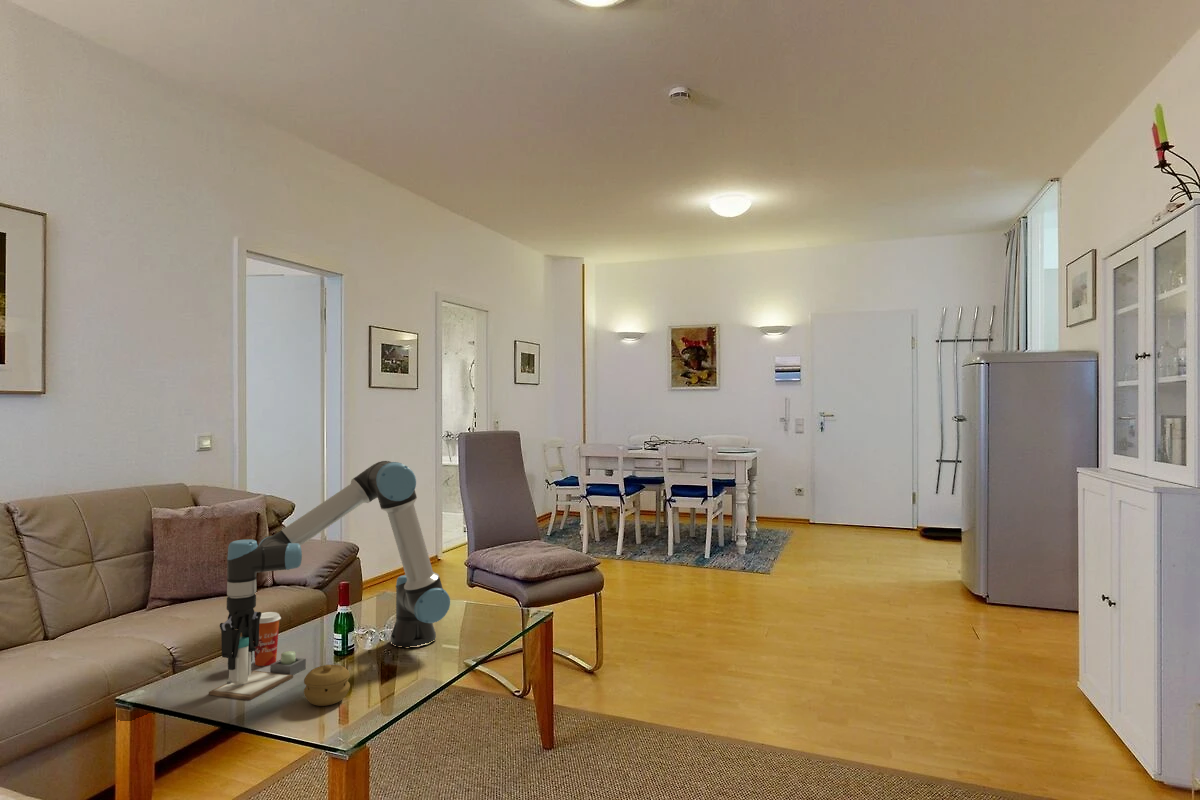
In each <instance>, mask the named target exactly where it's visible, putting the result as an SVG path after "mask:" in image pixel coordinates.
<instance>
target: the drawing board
mask: <svg viewBox="0 0 1200 800" xmlns="http://www.w3.org/2000/svg"><path fill="white" fill-rule="evenodd" d="M293 678H294V675H288V674H279V673H271V672H269V671H259V670H251V675H248V681H246V682H244V683H240V684H234V683H232V681H231V680H229V679H228V681H226V683H225V684H222V685H220V686H218V687H216V688H214V689H211V690H210V691H208V695H209V696H217V697H224V698H231V699H239V700H247V701H251V700H254V699H256V698H257V697H259V696H261V695H263V694H265V693H267V692H269V691H271V690H272V689H275V688H277V687H278V686H280V685H281V684H284V683H286V682H287V681H289V680H292V679H293Z"/></svg>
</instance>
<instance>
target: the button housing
mask: <svg viewBox="0 0 1200 800" xmlns="http://www.w3.org/2000/svg"><path fill="white" fill-rule="evenodd" d="M306 665H307V659H306V658H303V657H296V660H295V663H293V664H290V665H285V664H281V659H279V660H276V662H274V663H272V664H270V665H269V666H270V668H269V669H270V670H269V671H270V672H271V673H279V674H288V675H293V676H294V675H296V674H297V673H298V674H299V673H300V672H302V671H304V670H306V667H307V666H306Z"/></svg>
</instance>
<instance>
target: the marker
mask: <svg viewBox="0 0 1200 800" xmlns="http://www.w3.org/2000/svg"><path fill="white" fill-rule="evenodd" d="M248 645H249V637H242V636H240V640H239V646H238V652H237V657H239V680H238V681H232V683H234V684H240V683H244V682H246V681H248Z"/></svg>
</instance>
